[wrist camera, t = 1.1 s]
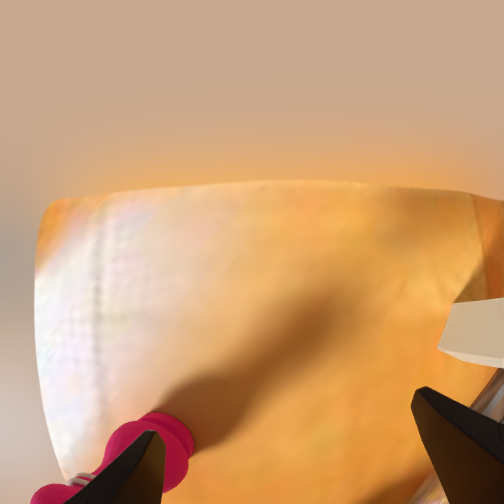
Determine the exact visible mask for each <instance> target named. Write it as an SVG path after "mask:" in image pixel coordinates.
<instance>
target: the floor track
mask: <svg viewBox="0 0 504 504" xmlns="http://www.w3.org/2000/svg"><path fill="white" fill-rule="evenodd" d="M469 408H471V409H473V410H475V411H477V412H479V413H481V414H483V415H485V416H487V417H490V418H492V419H494V420H496V421H497V422H500V423H502V424H504V368H499V369H498V370H497V372H496V373H495V374H494V376H493V377H492V379H491V380H490V382H489V383H488V384H487V386H486V387H485V388H484V390H483V391H482V392H481V394H480V395H479V396H478V398H477V399H476V400H475V401H474V403H473V404H472V405H471V406H470V407H469Z"/></svg>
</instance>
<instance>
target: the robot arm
mask: <svg viewBox="0 0 504 504" xmlns="http://www.w3.org/2000/svg"><path fill="white" fill-rule="evenodd" d="M411 410H412V413H413V416H414V419H415V421H416V424H417V427H418V430H419V433H420V436H421V439H422V442H423V444H424V446H425V449H426V451H427V453H428V455H429V457H430V459H431V462H432V464H433V466H434V468H435V470H436V473H437V475H438V477H439V480H440V482H441V484H442V487H443V489H444V491H445V494H446V496H447V499H448V501H449V504H504V424H502V423H500V422H497V421H496V420H494V419H492V418H490V417H487V416H485V415H483V414H481V413H479V412H477V411H475V410H473V409H471V408H469V407H467V406H465V405H463V404H461V403H459V402H457V401H455V400H453V399H451V398H449V397H447V396H445V395H443V394H441V393H439V392H437V391H435V390H433V389H431V388H429V387H427V386H424V387H421V388H419V389H417V390H416V391H415V393H414V396H413V400H412V403H411ZM165 459H166V444H165V442H164V441H163V439H162V438H161V436H160V434H159V433H158V432H157V431H156V430H145V431H144V432H143V433H141V434H140V435H139V436H138V437H137V438H136V439H135V440H134V441H133V442H132V443H131V444H130V445H129V446H128V447H127V448H126V449H125V450H124V451H123V452H122V453H121V454H120V455H119V456H117V457H116V458H115V459H114V460H113V461H112V462H111V463H110V464H109V465H108V466H107V467H106V468H104V469H103V470H102V471H101V472H100V473H99V474H98V475H97V476H96V477H94V478H93V479H92V480H91V481H90V482H89V483H88V484H87V485H86V486H84V487H83V488H82V489H81V490H80V491H78V492H77V493H76V494H75V495H73V496H72V497H71V498H69V499H68V500H67V501H65V502H64V503H62V504H161V499H162V493H163V487H164V479H165Z"/></svg>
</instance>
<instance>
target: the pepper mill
mask: <svg viewBox="0 0 504 504" xmlns="http://www.w3.org/2000/svg"><path fill="white" fill-rule="evenodd" d="M145 430H156V431H157V432H158V433H159V434H160V436H161V438H162V439H163V441H164V442H165V444H166V459H165V479H164V487H163V493H165V492H168V491H169V490H171V489H173V488H174V487H176V486H177V485H178V484H179V483H180V482H181V481H182V480H183V479H184V477H185V476H186V474H187V471H188V460H189V458H190V457H191V455H192V453H193V450H194V441H193V437H192V435H191V433H190V431H189V430H188V429H187V428H186V426H185V425H184V424H183V423H181V422H180V421H179V420H177V419H176V418H174V417H172V416H170V415H167V414H164V413H149V414H146V415H144V416H143V417H142V418H140V419H139V420H137V421H131V422H128V423H125V424H123V425H121V426H120V427H119V428H118V429H117V430H116V431H115V432H114V433H113V434H112V436H111V437H110V439H109V441H108V443H107V446H106V450H105V454H104V458H103V462H102V464H101V465H100V467H99V468H98V469H97V470H95V471H94V472H93V473H91V474H89V473H79V474H76V475H75V476H74V478H72V479H69V480H68V481H67V482H66V485H63V484H49V485H46V486H44V487H42V488H40V489H39V490H38V491H37V492H35V494H34V495H33V497H32V499H31V502H30V504H62V503H64V502H65V501H67V500H68V499H69V498H71V497H72V496H73V495H75V494H76V493H77V492H78V491H80V490H81V489H82V488H83V487H84V486H86V485H87V484H88V483H89V482H90V481H91V480H92V479H93V478H94V477H96V476H97V475H98V474H99V473H100V472H101V471H102V470H103V469H104V468H106V467H107V466H108V465H109V464H110V463H111V462H112V461H113V460H114V459H115V458H116V457H117V456H119V455H120V454H121V453H122V452H123V451H124V450H125V449H126V448H127V447H128V446H129V445H130V444H131V443H132V442H133V441H134V440H135V439H136V438H137V437H138V436H139V435H140V434H141V433H143V432H144V431H145Z"/></svg>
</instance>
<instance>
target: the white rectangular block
mask: <svg viewBox="0 0 504 504" xmlns="http://www.w3.org/2000/svg"><path fill="white" fill-rule="evenodd" d="M437 349H438V350H441V351H443V352H445V353H447V354H449V355H451V356H453V357H455V358H457V359H459V360H462V361H466V362H471V363H476V364H481V365H487V366H492V367H498V368H504V297H503V298H496V299H488V300H480V301H471V302H461V303H453V304H452V308H451V311H450V314H449V317H448V320H447V323H446V326H445V328H444V331H443V334H442V336H441V339H440V342H439V344H438V347H437Z"/></svg>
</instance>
